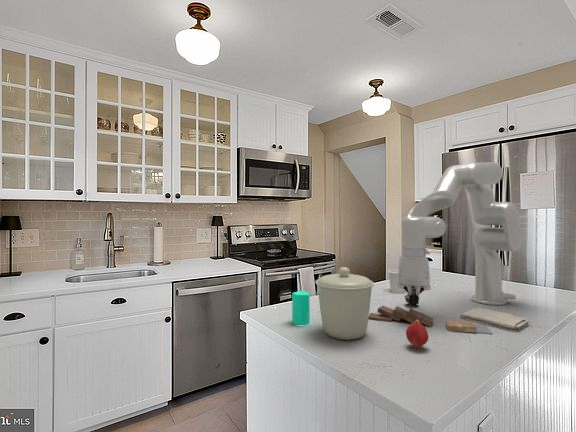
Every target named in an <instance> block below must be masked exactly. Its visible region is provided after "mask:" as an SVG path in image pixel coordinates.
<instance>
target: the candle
mask: <svg viewBox="0 0 576 432" xmlns="http://www.w3.org/2000/svg"><path fill="white" fill-rule="evenodd" d="M291 297H292V298H291V302H292V303H291V304H292V306H291V310H292V311H291V312H292V313H291V314H292V316H291V317H292V318H291V319H292V321H291V322H292V325H293V324H295V325H294V326H296V325H306V326H308V325H307V324H309V325H310V323H311V316H310V315H311V313H310V311H311V310H310V292H308V291H306V290H300V291H295V292H292V293H291Z"/></svg>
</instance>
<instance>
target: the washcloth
mask: <svg viewBox="0 0 576 432" xmlns="http://www.w3.org/2000/svg"><path fill="white" fill-rule="evenodd" d="M459 317H460V319H462V320H466V321H468V322H473V323H476V324H482V325H486V326H490V327H493V328H497V329H501V330H503V331H504V330H505V331H509V332H512V333H516V332H520V331H522V330H523V329H524V328H527V327H528V326H529V322H530V321H528V320H527V319H526V318H525V317H519V316H516V315H513V314H511V313H510V312H509V313H508V312H501V311H497V310H492V309H487V308H482V307H473V308H471V309H470V310H467V311H465V312H462V313H460V315H459Z"/></svg>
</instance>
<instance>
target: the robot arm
mask: <svg viewBox="0 0 576 432" xmlns="http://www.w3.org/2000/svg"><path fill="white" fill-rule="evenodd" d="M502 177H503V169H502V167H501V165H500V164H499V163H497V162H494V161H493V162H491V161H490V162H488V161H487V162H486V161H485V162H470V163H469V162H468V163H463V164H455V165H450V166H448V167H447V168H446V169H445V170H444V172H443V174H442V175H441V177H440V179H439V180H438V183H437V184H436V185H435V187H434V189H433V191H432V192H431V193H430V194H428V195H427V196H425V197H424V198H422V199H421V200H419V201H418V202H417V203H415V205H413V207H412V208H411V209H410V210H409V212H408V214H407V215H406V217H403V219H402V220H401V255H400V256H399V259H398V269H397V270H398V285H397V287H398V288H401V289H404V290H403V291H405V292H406V293H407V294H409V303H410V304H411V306H412V307H413V306H414V307H417V305H419V301H420V298H419V297H420V294H422V293H423V292H424V291H430V290H432V289H431V284H430V282H431V278H430V277H431V276H430V274H431V273H430V264H429V259H428V256H426V255H430V254H431V251H430V249H427V248H426V238H427V239H428V238H429V239H436V238H441V236H443V235H444V234H445V232H446V230H447V227H446V226H447V225H446V222H445V221H444V220H443V219H442V218H440V217H438V216H430V215H432V214H434V213H436V212H438V211H439V212H440V211H441V210H445V209H447V208H450V207H451V206H453V205H454V204H455V203H456V201H457V200H458V197H459V195H460V193H461V191H462V190H463V189H464V190H465V191H466V192H467V193H468V195H469V199H470V205H471V212H472V216H473V217H472V218H473V221H474V222H475V223H476V224H477V225H481V226H485V227H479V228H476V229H475V230H474V231H473V233H472V237H471V238H472V244H473V248H474V255H475V257H474V260H475V262H474V264H475V267H474V271H475V273H474V274H475V281H474V282H475V289H474V290H475V295H471V301H474V302H476V303H478V304H482V305H483V304H484V305H491V306H503V305H506V304H507V299H508V300H509V299H510V300H516V299H517V296H516V294H512V293H511V294H510V293H505V292H503V266H502V264H503V263H502V258H501V256H500V255H499V253H498V252H497V251H500V252H501V251H502V252H517V251H519V250H520V249H522V244H523V235H522V228H521V220H520V213H519V210H518V208H517V206H516V205H515V204H514V203H513V202H510V201H496V200H495V196H494V191H493V188H492V187H491V186H492V185H497V184H498V183H499V182H500V181H501V180H502ZM489 226H491V227H489ZM492 226H495V227H492ZM497 226H499V227H497ZM411 286H416V291H415V293H414V294H413V292H412V289H411ZM417 308H418V307H417Z"/></svg>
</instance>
